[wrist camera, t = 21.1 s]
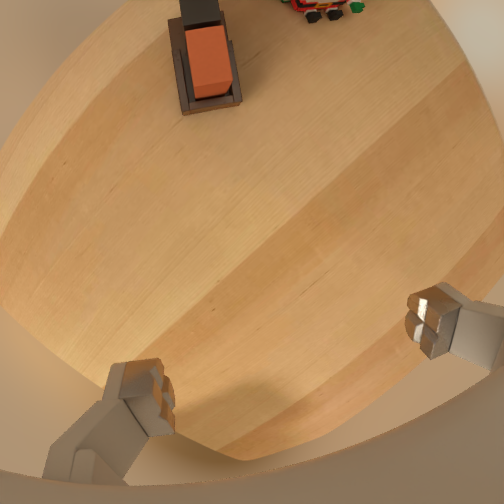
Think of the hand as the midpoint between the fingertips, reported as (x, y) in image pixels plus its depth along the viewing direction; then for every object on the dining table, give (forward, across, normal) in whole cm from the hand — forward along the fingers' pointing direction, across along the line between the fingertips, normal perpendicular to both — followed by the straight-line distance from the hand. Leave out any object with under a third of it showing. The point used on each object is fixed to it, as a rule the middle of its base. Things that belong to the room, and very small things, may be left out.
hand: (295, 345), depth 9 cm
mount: (+27, 0, -15) cm, 31 cm away
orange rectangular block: (+26, 0, -13) cm, 29 cm away
